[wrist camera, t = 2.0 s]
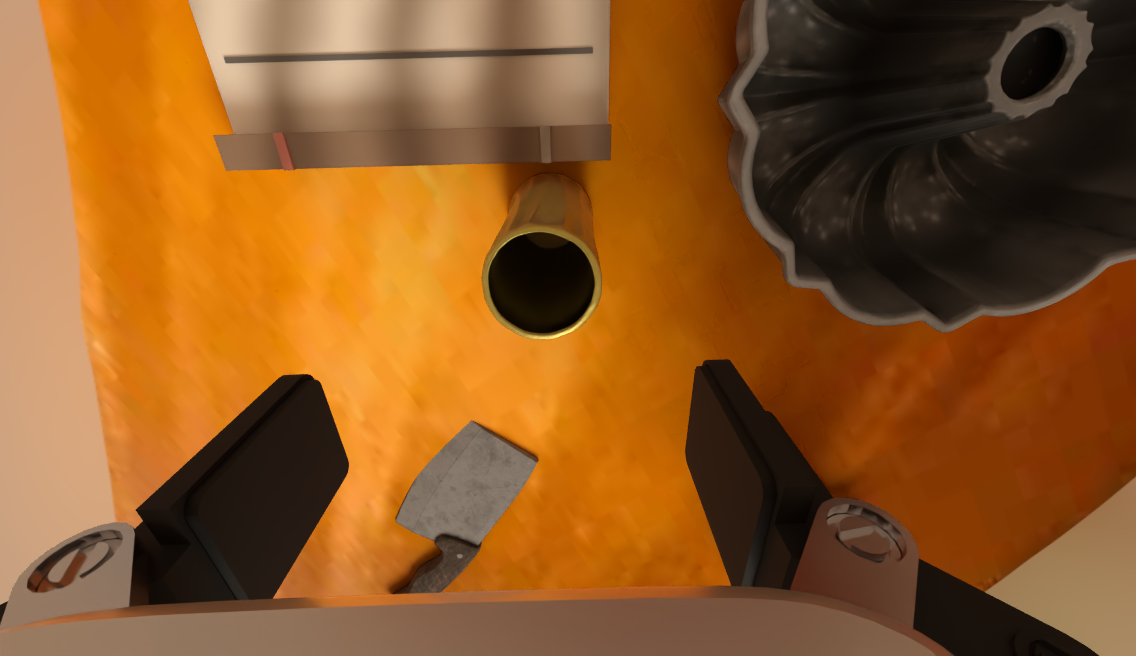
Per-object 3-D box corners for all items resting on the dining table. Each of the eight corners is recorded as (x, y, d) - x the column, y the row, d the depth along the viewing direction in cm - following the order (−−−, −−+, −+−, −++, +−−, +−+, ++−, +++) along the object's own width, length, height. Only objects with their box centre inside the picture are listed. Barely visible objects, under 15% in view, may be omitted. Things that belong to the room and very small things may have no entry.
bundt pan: (621, 216, 31) (645, 256, 22) (821, -325, 20) (1036, -694, 11) (920, 313, 35) (1045, 381, 26) (1228, -94, 24) (1637, -226, 15)
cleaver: (432, 607, 52) (427, 625, 50) (355, 583, 50) (347, 601, 48) (547, 447, 41) (546, 462, 39) (455, 407, 39) (449, 421, 37)
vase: (529, 269, 32) (507, 366, 20) (494, 192, 30) (443, 246, 17) (603, 240, 31) (631, 322, 19) (574, 158, 29) (583, 188, 16)
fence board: (608, -29, 24) (614, -49, 22) (606, 157, 29) (610, 161, 26) (196, -18, 24) (148, -36, 22) (257, 166, 29) (224, 171, 26)
